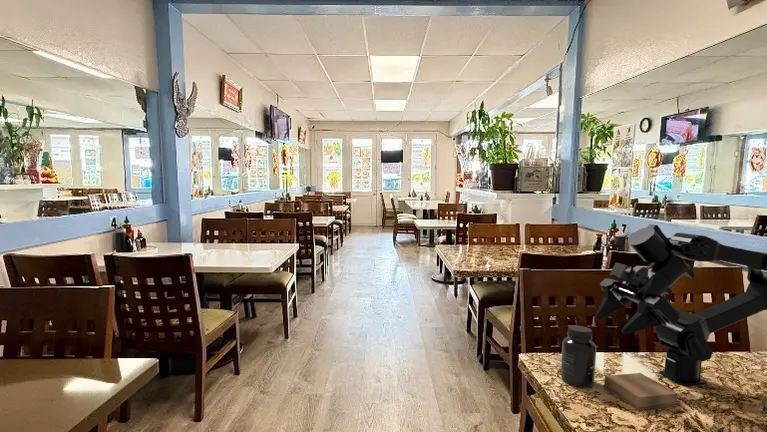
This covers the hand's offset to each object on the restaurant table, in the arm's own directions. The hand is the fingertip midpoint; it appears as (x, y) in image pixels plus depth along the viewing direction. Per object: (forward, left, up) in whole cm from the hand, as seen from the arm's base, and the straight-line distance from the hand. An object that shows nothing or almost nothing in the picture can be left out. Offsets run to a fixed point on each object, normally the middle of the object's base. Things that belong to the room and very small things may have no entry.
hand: (609, 325), depth 89 cm
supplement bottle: (+7, -1, -13) cm, 15 cm away
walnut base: (-2, +7, -13) cm, 15 cm away
